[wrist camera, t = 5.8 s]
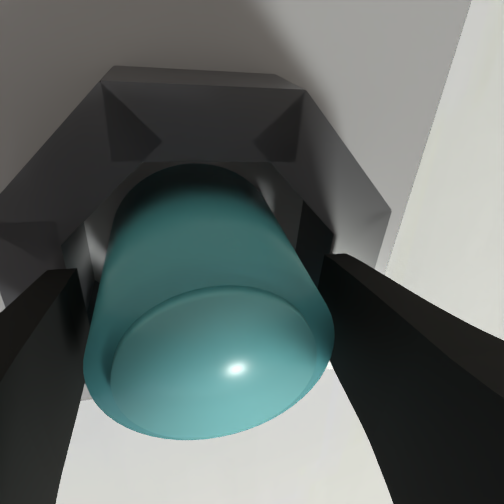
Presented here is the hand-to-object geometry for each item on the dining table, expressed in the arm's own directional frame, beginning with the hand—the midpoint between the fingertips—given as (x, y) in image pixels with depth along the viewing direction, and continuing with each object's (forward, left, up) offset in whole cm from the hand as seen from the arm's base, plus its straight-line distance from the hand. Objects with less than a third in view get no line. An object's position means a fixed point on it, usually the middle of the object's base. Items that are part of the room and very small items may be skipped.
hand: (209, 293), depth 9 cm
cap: (0, 0, -3) cm, 3 cm away
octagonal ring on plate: (0, 0, -3) cm, 3 cm away
